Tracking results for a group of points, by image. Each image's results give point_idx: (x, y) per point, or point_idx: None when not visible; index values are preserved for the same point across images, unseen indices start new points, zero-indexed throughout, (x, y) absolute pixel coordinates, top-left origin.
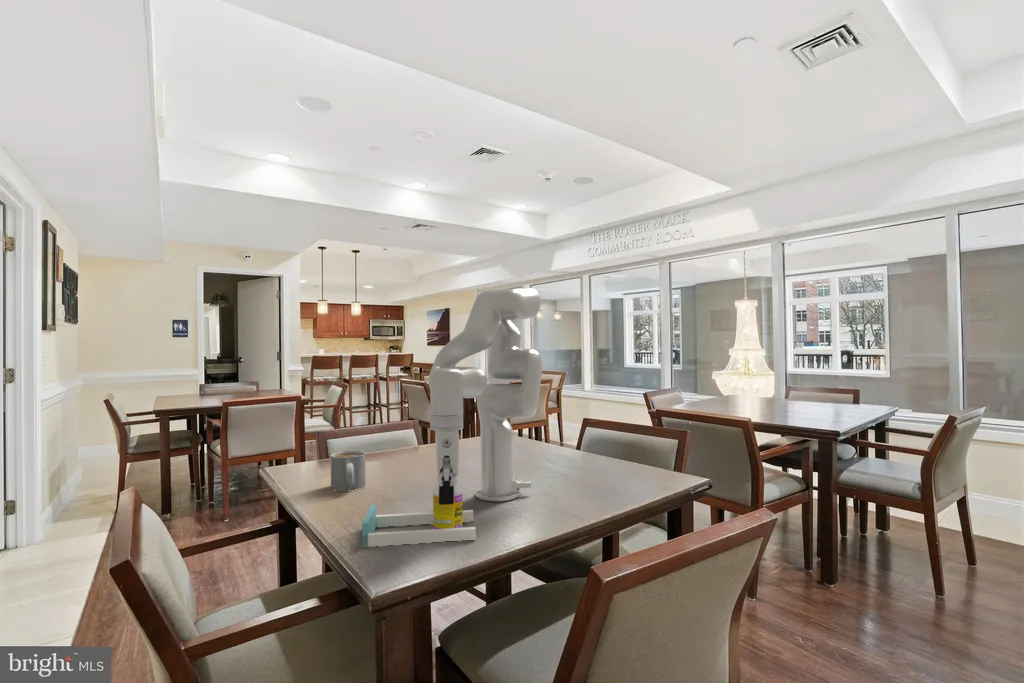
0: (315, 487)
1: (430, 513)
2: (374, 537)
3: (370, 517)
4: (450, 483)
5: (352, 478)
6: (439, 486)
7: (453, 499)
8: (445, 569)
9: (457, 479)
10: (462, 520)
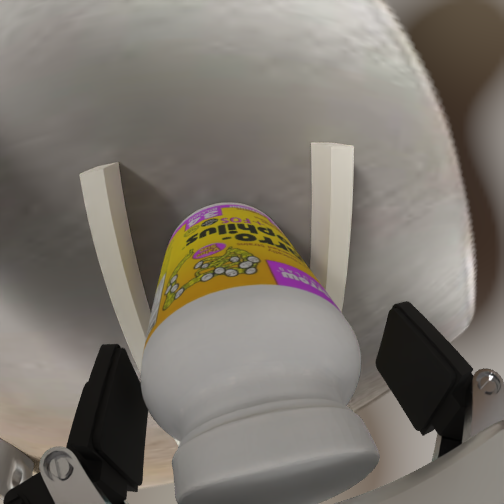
0: (35, 474)
1: None
2: None
3: None
4: (495, 388)
5: (25, 475)
6: (432, 427)
7: (418, 314)
8: (461, 232)
9: (319, 417)
10: (124, 212)
